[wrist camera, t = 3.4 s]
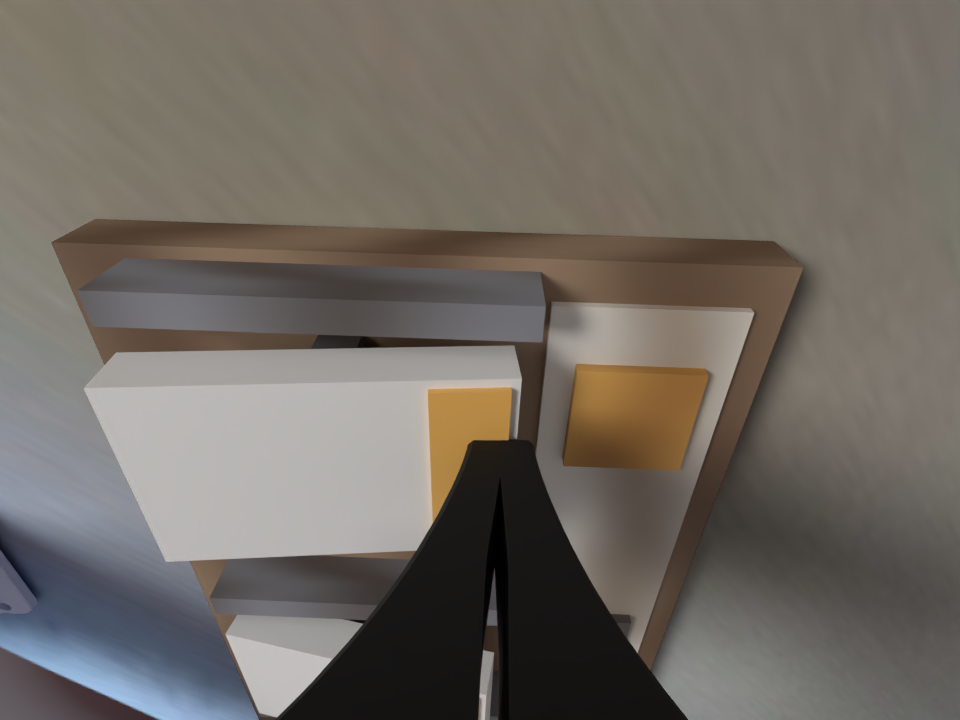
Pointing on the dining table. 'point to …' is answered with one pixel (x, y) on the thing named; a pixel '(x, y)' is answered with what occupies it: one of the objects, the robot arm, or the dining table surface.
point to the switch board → (479, 322)
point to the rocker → (300, 442)
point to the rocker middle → (302, 657)
